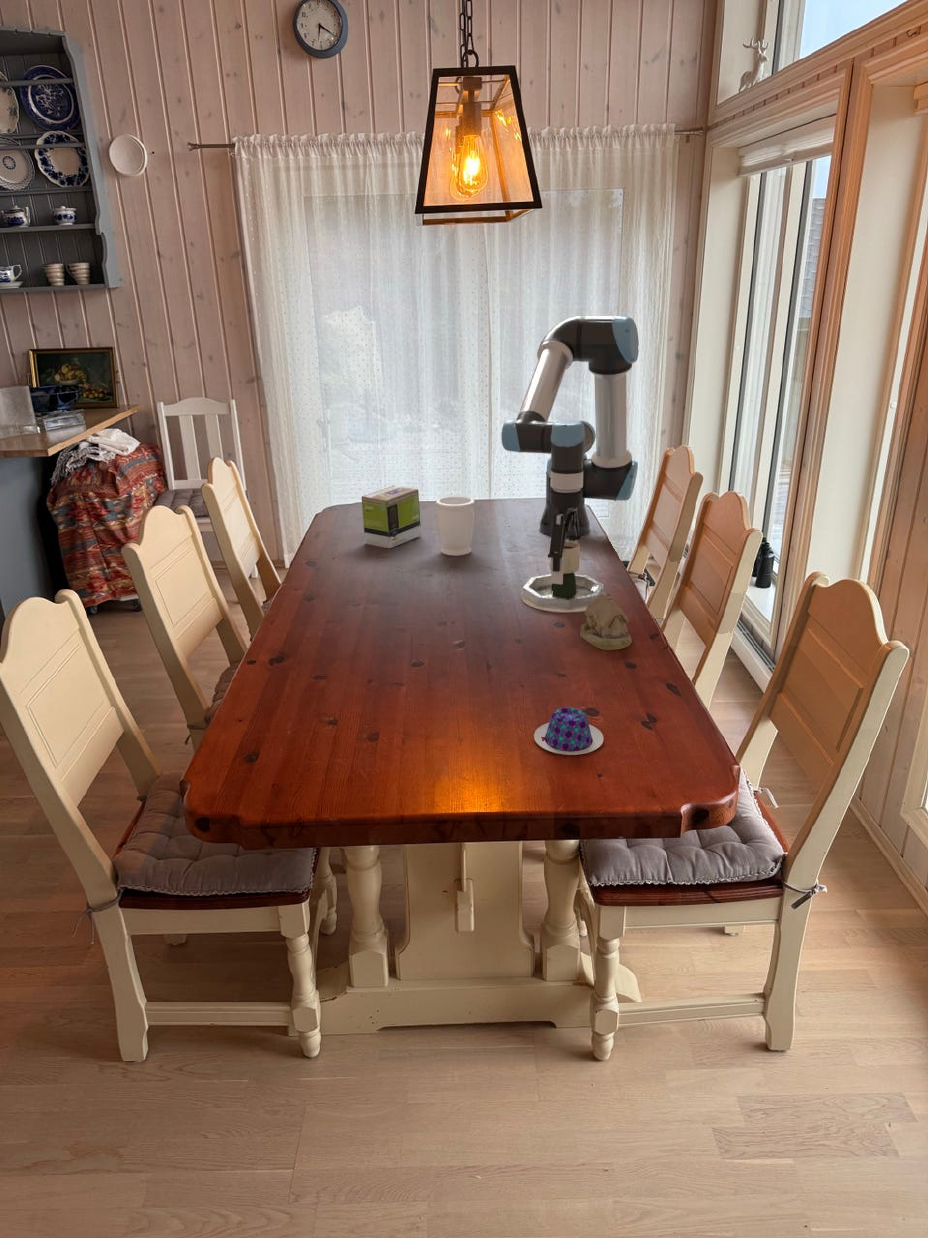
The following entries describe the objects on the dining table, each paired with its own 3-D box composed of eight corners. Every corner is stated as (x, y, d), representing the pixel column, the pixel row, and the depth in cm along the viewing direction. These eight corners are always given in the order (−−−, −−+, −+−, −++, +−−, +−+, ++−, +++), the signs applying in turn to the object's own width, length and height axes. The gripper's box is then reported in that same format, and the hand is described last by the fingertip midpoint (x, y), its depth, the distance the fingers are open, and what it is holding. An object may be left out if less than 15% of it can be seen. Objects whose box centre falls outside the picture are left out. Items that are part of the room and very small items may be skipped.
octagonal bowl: (534, 579, 231) (534, 568, 230) (614, 587, 224) (614, 576, 223) (509, 607, 213) (509, 595, 211) (596, 617, 206) (596, 605, 205)
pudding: (617, 739, 154) (618, 712, 153) (574, 766, 147) (575, 738, 145) (562, 717, 162) (563, 691, 160) (519, 741, 154) (519, 715, 152)
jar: (476, 546, 257) (475, 496, 252) (473, 557, 248) (472, 505, 242) (439, 546, 258) (438, 495, 253) (435, 557, 249) (433, 505, 243)
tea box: (396, 531, 273) (394, 484, 267) (422, 536, 268) (420, 488, 262) (363, 544, 262) (360, 494, 256) (389, 549, 256) (387, 499, 251)
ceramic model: (571, 628, 200) (573, 586, 196) (617, 623, 203) (619, 581, 199) (595, 653, 188) (597, 609, 184) (644, 647, 190) (647, 603, 186)
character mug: (542, 589, 222) (543, 539, 217) (569, 586, 224) (571, 537, 219) (557, 604, 212) (558, 553, 208) (585, 601, 214) (587, 550, 209)
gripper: (564, 475, 220) (561, 557, 228) (536, 500, 198) (534, 589, 206) (593, 477, 218) (590, 560, 226) (569, 502, 196) (566, 593, 204)
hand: (564, 574), depth 216 cm, fingers open, 13 cm apart
